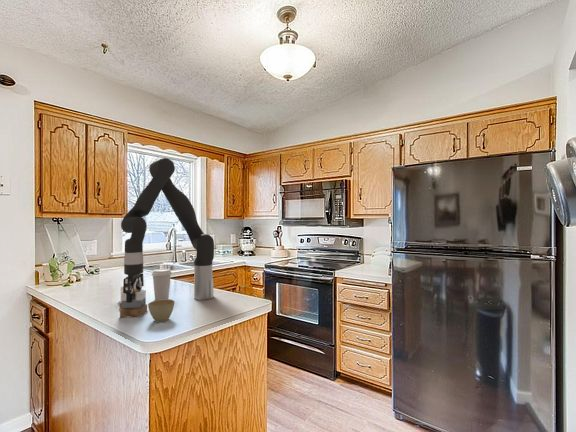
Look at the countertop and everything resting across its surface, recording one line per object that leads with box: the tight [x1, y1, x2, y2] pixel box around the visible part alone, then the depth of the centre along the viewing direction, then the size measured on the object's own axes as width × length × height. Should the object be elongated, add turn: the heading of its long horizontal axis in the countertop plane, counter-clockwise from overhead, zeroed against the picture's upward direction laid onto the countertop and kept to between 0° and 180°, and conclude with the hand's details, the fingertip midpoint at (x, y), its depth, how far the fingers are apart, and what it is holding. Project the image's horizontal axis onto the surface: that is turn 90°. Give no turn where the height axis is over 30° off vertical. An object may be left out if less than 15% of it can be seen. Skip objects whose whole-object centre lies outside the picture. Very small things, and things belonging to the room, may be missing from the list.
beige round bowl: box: [147, 299, 175, 323], centre depth 127 cm, size 10×10×7 cm
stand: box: [119, 304, 148, 318], centre depth 135 cm, size 8×8×3 cm
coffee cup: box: [151, 268, 172, 301], centre depth 160 cm, size 10×10×15 cm
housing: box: [121, 289, 147, 309], centre depth 135 cm, size 8×5×8 cm, turn 93°
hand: (133, 299), depth 135 cm, fingers open, 8 cm apart
